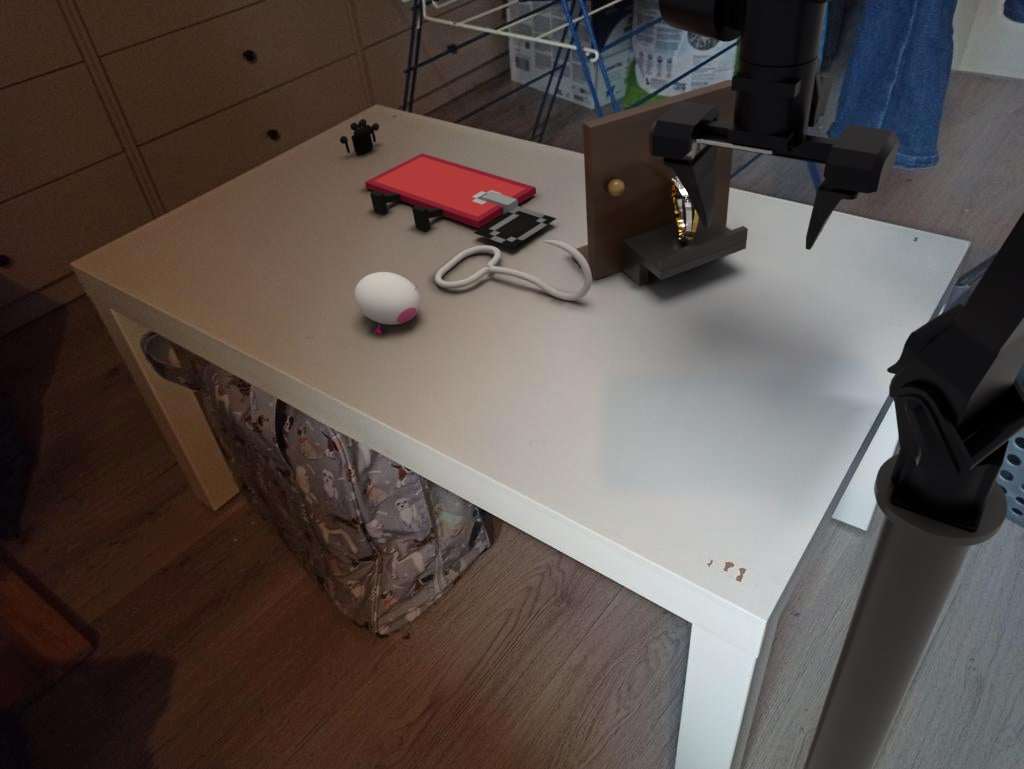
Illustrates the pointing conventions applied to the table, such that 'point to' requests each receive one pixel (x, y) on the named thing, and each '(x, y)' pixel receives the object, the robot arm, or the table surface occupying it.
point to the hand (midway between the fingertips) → (757, 235)
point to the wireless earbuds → (361, 137)
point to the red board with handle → (459, 198)
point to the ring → (677, 205)
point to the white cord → (516, 271)
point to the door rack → (650, 195)
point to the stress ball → (387, 298)
